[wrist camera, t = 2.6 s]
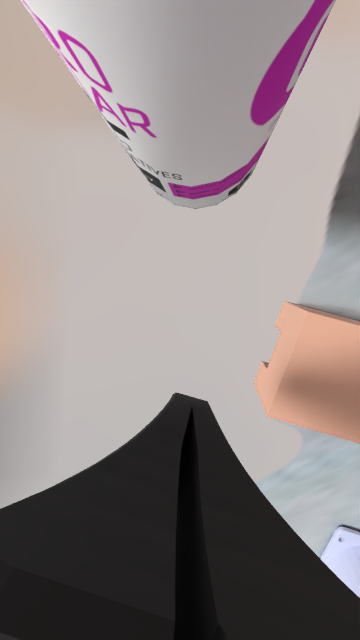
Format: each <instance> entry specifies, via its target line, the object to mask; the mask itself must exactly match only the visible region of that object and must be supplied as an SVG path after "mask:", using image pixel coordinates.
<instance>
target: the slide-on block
mask: <svg viewBox="0 0 360 640" xmlns="http://www.w3.org/2000/svg"><path fill="white" fill-rule="evenodd" d="M275 326H276V327H277V328H278V329H279V330H280V331H281V333H280V336H279V338H278V341H277V344H276V346H275V349H274V352H273V354H272V357H271V360H270V362H269V363H267V362H263V361H262V363H261V365H260V368H259V371H258V373H257V376H256V379H255V382H254V385H255V387H256V390H257V392H258V395H259V397H260V400H261V402H262V405H263V407H264V410H265V412H266V415H267V416H268V417H271V418H275V419H278V420H281V421H285V422H288V423H292V424H295V425H298V426H302V427H305V428H309V429H312V430H315V431H319V432H322V433H326V434H329V435H332V436H336V437H339V438H343V439H346V440H349V441H353V442H356V443H360V321H357V320H353V319H349V318H345V317H342V316H338V315H334V314H331V313H327V312H323V311H319V310H316V309H312V308H308V307H305V306H301V305H297V304H294V303H290V302H286V301H284V303H283V305H282V308H281V311H280V314H279V316H278V319H277V322H276V324H275Z"/></svg>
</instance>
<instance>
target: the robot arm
mask: <svg viewBox="0 0 360 640" xmlns="http://www.w3.org/2000/svg"><path fill="white" fill-rule="evenodd" d="M0 640H360V532H358V531H355V530H352V529H349V528H345V527H338V528H337V529H336V531H335V533H334V535H333V536H332V538H331V540H330V542H329V544H328V546H327V547H326V549H325V551H324V553H323V555H322V557H321V558H319V557H318V556H317V555H316V554H315V553H314V552H313V551H312V550H311V549H310V548H309V547H308V546H307V545H306V543H305V542H304V541H303V540H302V539H301V538H300V537H299V536H298V535H297V534H296V533H295V532H294V530H293V529H292V528H291V527H290V526H289V525H288V523H287V522H286V521H285V520H284V519H283V518H282V516H281V515H280V514H279V513H278V512H277V511H276V509H275V508H274V507H273V506H272V505H271V503H270V502H269V501H268V500H267V499H266V497H265V496H264V495H263V493H262V492H261V491H260V489H259V488H258V487H257V485H256V484H255V483H254V481H253V480H252V479H251V477H250V476H249V475H248V473H247V472H246V470H245V469H244V467H243V466H242V464H241V463H240V461H239V460H238V458H237V457H236V455H235V453H234V452H233V451H232V448H231V447H230V445H229V444H228V441H227V440H226V438H225V436H224V434H223V432H222V430H221V428H220V426H219V425H218V422H217V420H216V418H215V416H214V414H213V412H212V410H211V408H210V406H209V404H208V402H207V401H204V400H201V399H197V398H194V397H190V396H187V395H183V394H179V393H175V394H173V395H172V397H171V399H170V401H169V402H168V403H167V405H166V406H165V407H164V409H163V410H162V411H161V412H160V413H159V414H158V415H157V416H156V417H155V418H154V419H153V420H152V421H151V422H150V423H149V424H148V425H147V426H146V427H145V428H144V429H143V430H141V431H140V432H139V433H138V434H137V435H136V436H134V437H133V438H132V439H131V440H129V441H128V442H127V443H126V444H124V445H123V446H121V447H120V448H119V449H117V450H116V451H114V452H113V453H111V454H110V455H108V456H107V457H105V458H104V459H102V460H101V461H99V462H97V463H96V464H94V465H92V466H90V467H89V468H87V469H85V470H83V471H81V472H80V473H78V474H76V475H74V476H72V477H70V478H68V479H66V480H64V481H62V482H60V483H58V484H56V485H55V486H53V487H50V488H48V489H46V490H44V491H42V492H40V493H37V494H35V495H32V496H30V497H28V498H25V499H23V500H21V501H18V502H16V503H13V504H11V505H9V506H6V507H4V508H1V509H0Z"/></svg>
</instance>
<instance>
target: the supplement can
mask: <svg viewBox="0 0 360 640" xmlns="http://www.w3.org/2000/svg"><path fill="white" fill-rule="evenodd" d="M335 1H336V0H21V2H22V3H23V4H24V6H25V7H26V9H27V10H28V12H29V13H30V14H31V16H32V17H33V19H34V20H35V22H36V23H37V24H38V26H39V27H40V29H41V30H42V32H43V33H44V34H45V36H46V37H47V39H48V40H49V42H50V43H51V44H52V46H53V47H54V48H55V50H56V52H57V53H58V54H59V56H60V57H61V59H62V60H63V62H64V63H65V64H66V66H67V67H68V69H69V70H70V72H71V73H72V74H73V76H74V77H75V79H76V80H77V81H78V83H79V84H80V86H81V87H82V89H83V90H84V91H85V93H86V94H87V96H88V97H89V99H90V100H91V101H92V103H93V104H94V106H95V107H96V108H97V110H98V111H99V113H100V114H101V116H102V117H103V119H104V120H105V121H106V123H107V124H108V126H109V127H110V129H111V130H112V131H113V133H114V134H115V135H116V137H117V138H118V140H119V141H120V142H121V144H122V146H123V147H124V148H125V150H126V151H127V153H128V154H129V156H130V157H131V158H132V160H133V161H134V163H135V164H136V166H137V167H138V168H139V170H140V171H141V173H142V174H143V176H144V177H145V178H146V179H147V181H148V182H149V183H150V185H151V186H152V187H153V189H154V190H155V191H156V193H157V194H159V195H160V196H162V197H163V198H165V199H167V200H168V201H170V202H171V203H173V204H174V205H178V206H183V207H189V208H194V209H197V208H202V207H207V206H213V205H217V204H219V203H220V202H222V201H223V200H225V199H227V198H228V197H230V196H232V195H234V194H235V193H236V192H237V191H238V190H239V189H240V188H241V186H242V185H243V184H244V183H245V182H246V180H247V179H248V178H249V177H250V176H251V174H252V172H253V170H254V168H255V166H256V164H257V162H258V160H259V158H260V156H261V154H262V152H263V150H264V148H265V146H266V144H267V141H268V139H269V137H270V135H271V133H272V131H273V129H274V127H275V125H276V123H277V121H278V119H279V116H280V114H281V112H282V110H283V108H284V106H285V104H286V102H287V100H288V98H289V96H290V94H291V92H292V90H293V88H294V86H295V84H296V82H297V79H298V77H299V75H300V73H301V71H302V69H303V67H304V65H305V63H306V61H307V59H308V57H309V55H310V52H311V51H312V48H313V46H314V44H315V42H316V40H317V38H318V36H319V34H320V32H321V30H322V28H323V25H324V24H325V22H326V20H327V17H328V15H329V13H330V11H331V9H332V7H333V5H334V3H335Z"/></svg>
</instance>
